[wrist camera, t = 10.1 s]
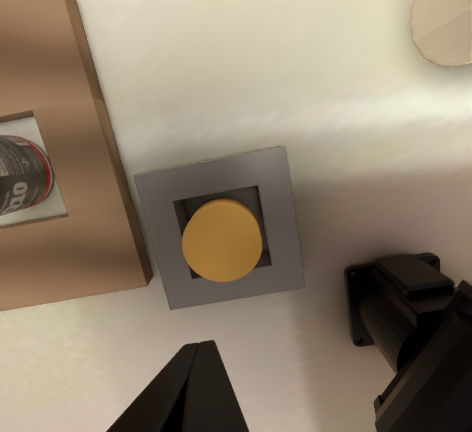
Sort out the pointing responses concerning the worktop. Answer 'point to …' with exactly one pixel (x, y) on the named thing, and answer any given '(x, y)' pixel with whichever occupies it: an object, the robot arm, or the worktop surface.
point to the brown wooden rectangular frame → (65, 165)
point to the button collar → (214, 181)
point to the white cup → (443, 30)
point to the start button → (222, 240)
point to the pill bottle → (22, 174)
